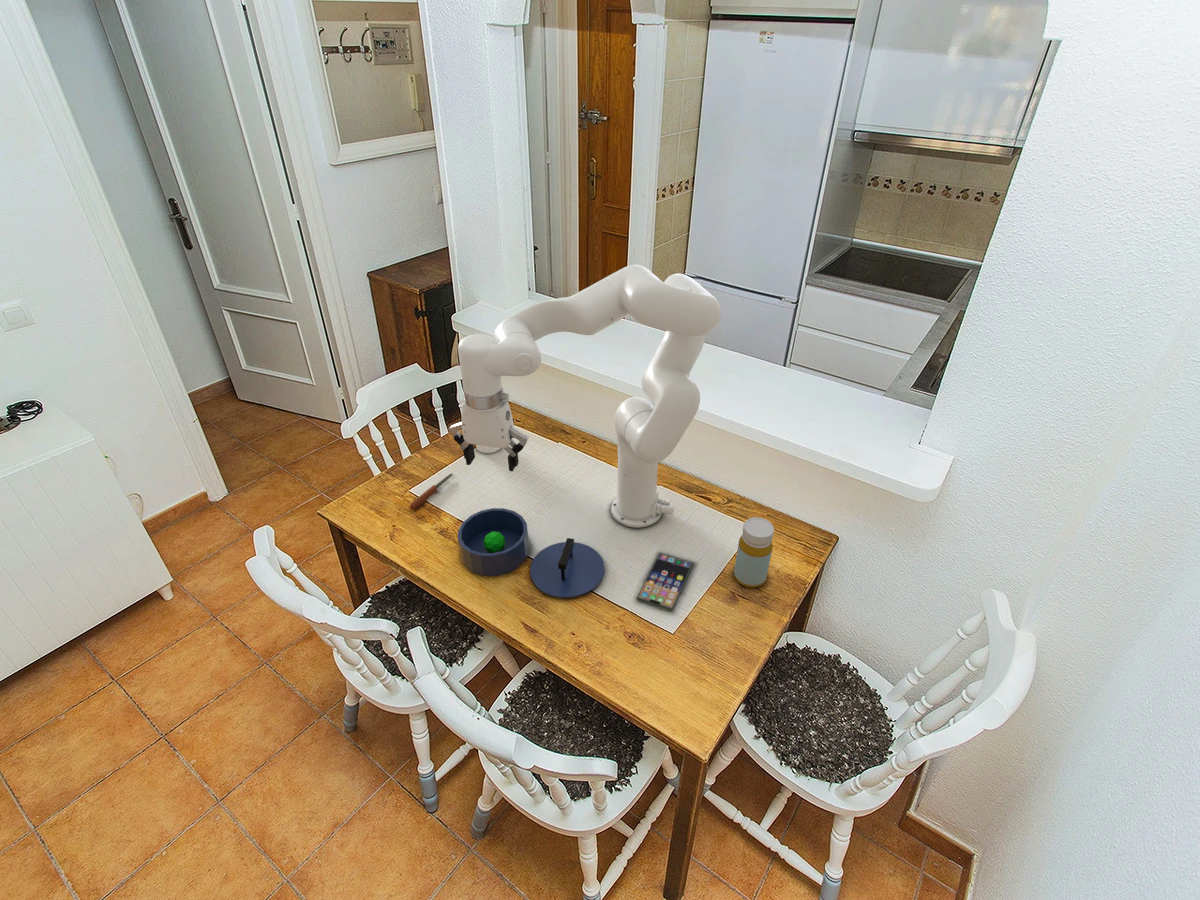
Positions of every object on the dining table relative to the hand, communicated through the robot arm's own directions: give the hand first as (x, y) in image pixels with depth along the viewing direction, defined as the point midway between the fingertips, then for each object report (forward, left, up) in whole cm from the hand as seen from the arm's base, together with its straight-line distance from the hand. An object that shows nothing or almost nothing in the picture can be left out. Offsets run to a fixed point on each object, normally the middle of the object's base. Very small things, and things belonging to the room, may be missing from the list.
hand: (491, 464), depth 136 cm
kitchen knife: (+24, -14, -23) cm, 36 cm away
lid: (-17, +6, -23) cm, 29 cm away
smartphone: (-39, +5, -23) cm, 46 cm away
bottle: (-57, 0, -23) cm, 62 cm away
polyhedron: (+1, +3, -23) cm, 23 cm away
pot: (+1, +3, -23) cm, 23 cm away
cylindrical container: (+17, -37, -23) cm, 47 cm away
